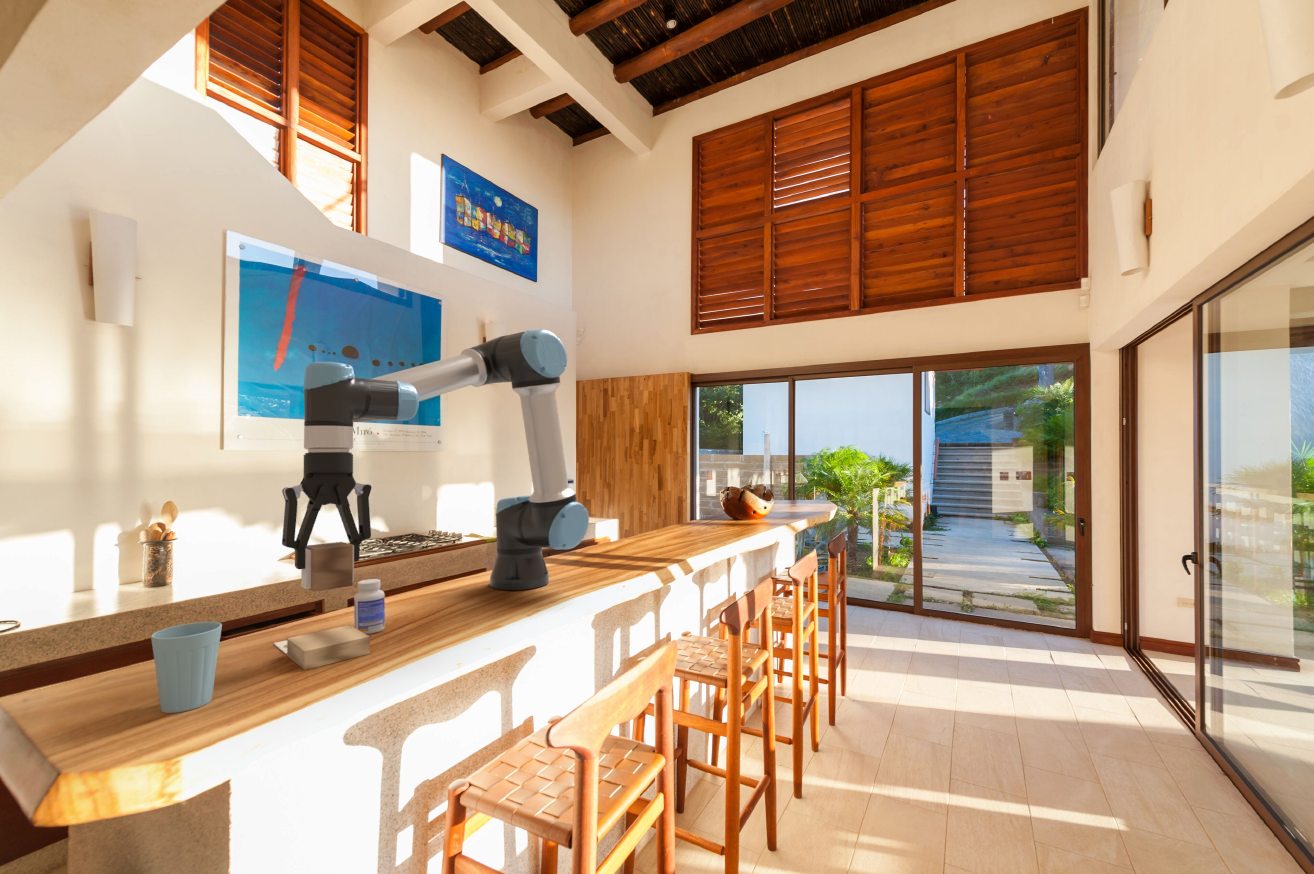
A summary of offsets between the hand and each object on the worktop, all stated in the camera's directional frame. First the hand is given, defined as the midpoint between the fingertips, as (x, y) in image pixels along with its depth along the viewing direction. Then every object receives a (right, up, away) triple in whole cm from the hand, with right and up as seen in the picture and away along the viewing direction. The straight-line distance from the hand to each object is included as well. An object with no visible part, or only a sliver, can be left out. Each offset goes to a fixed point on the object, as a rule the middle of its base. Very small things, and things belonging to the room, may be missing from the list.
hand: (328, 583), depth 100 cm
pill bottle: (+1, -13, +13) cm, 18 cm away
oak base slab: (0, -12, 0) cm, 12 cm away
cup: (-8, -12, -20) cm, 24 cm away
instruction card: (-7, -12, +7) cm, 16 cm away
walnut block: (0, 0, 0) cm, 0 cm away
